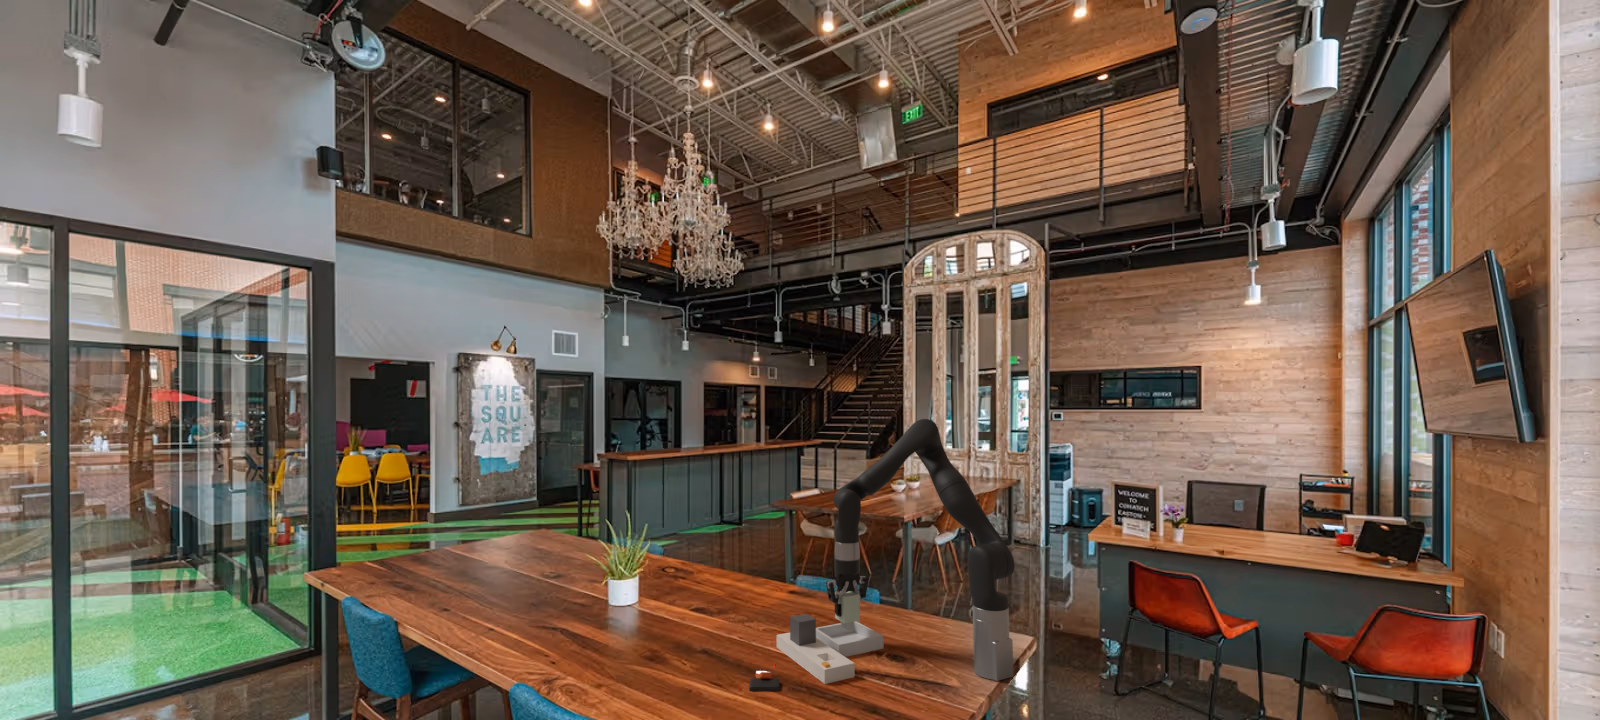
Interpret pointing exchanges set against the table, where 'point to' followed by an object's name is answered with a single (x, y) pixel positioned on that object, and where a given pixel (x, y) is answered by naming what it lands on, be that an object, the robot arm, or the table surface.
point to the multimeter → (764, 682)
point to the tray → (850, 639)
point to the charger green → (849, 610)
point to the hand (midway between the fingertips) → (847, 614)
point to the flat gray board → (817, 659)
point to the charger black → (802, 629)
